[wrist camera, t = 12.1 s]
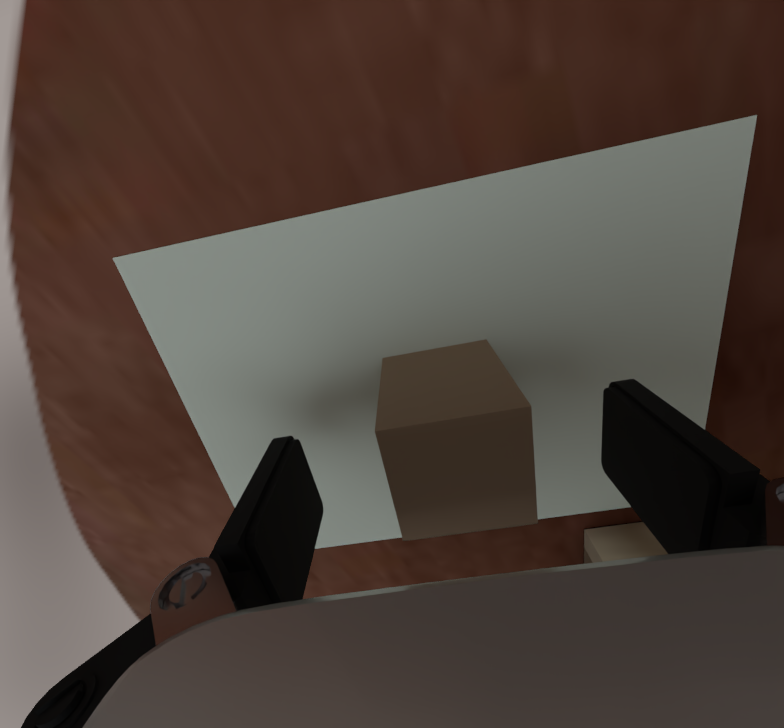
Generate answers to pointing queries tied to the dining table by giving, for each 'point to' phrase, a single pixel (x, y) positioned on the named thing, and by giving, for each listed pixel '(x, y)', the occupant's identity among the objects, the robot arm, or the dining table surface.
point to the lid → (456, 332)
